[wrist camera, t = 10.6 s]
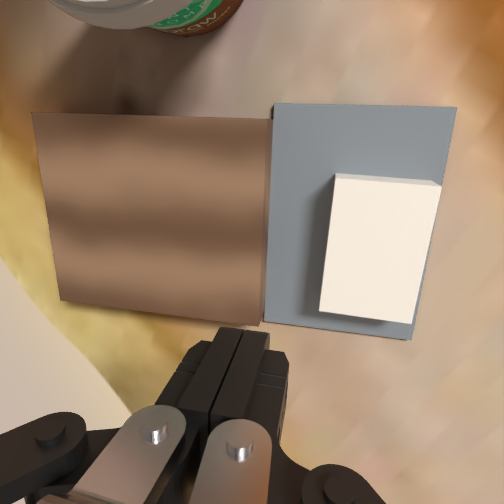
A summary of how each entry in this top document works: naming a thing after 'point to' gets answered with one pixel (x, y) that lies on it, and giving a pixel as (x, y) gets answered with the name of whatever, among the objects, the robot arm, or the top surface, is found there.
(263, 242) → the brown wooden board
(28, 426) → the robot arm
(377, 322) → the mat
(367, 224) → the tile
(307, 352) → the top surface
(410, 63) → the top surface
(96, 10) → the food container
